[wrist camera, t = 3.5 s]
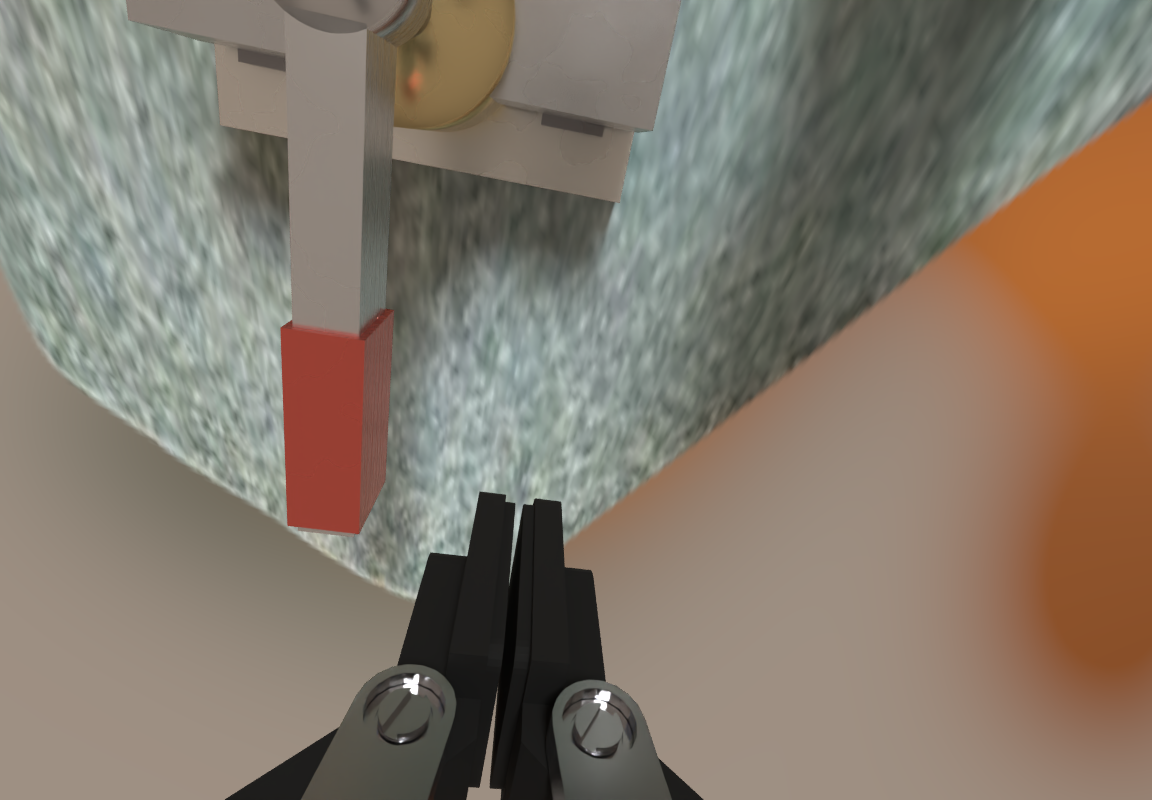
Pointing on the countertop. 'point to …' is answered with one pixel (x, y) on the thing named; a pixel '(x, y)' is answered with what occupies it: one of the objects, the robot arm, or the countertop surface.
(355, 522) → the valve lever
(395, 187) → the countertop surface
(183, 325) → the countertop surface
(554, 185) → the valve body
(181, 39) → the countertop surface
